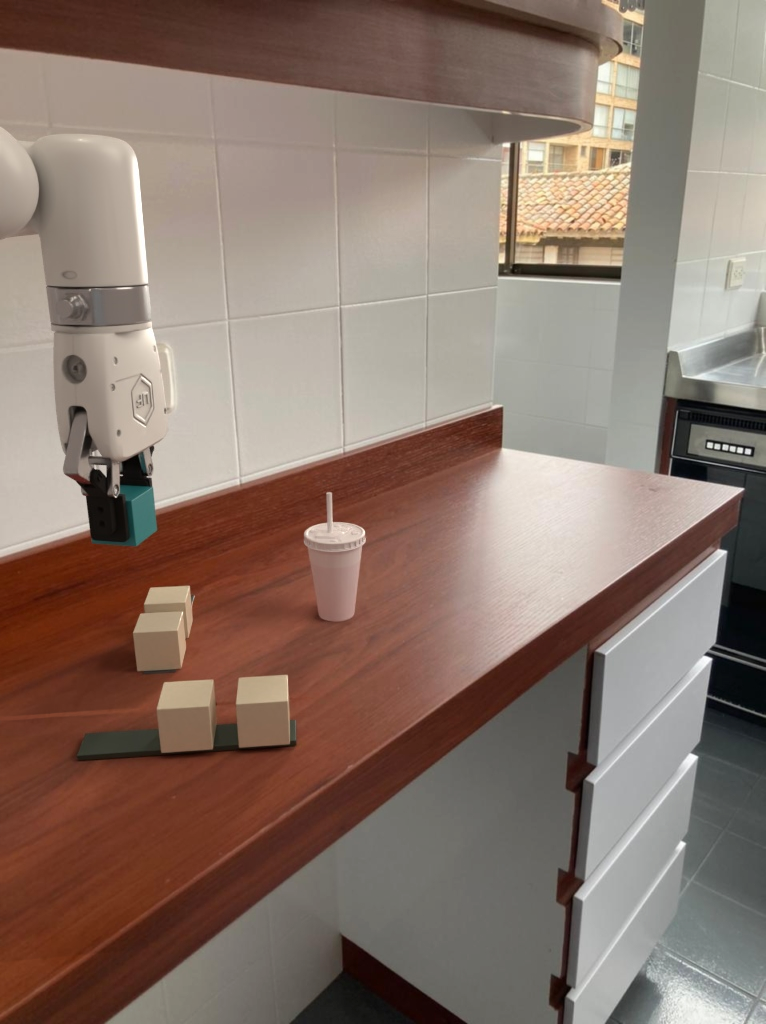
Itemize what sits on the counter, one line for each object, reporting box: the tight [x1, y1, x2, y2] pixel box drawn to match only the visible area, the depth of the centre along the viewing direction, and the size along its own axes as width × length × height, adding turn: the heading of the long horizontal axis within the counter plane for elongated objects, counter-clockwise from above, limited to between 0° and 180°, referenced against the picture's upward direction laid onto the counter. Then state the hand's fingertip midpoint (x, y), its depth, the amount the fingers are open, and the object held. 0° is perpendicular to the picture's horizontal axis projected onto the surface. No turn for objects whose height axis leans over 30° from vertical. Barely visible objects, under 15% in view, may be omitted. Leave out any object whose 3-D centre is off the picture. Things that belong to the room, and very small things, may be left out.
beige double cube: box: [132, 585, 195, 675], centre depth 82 cm, size 4×17×4 cm, turn 6°
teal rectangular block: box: [90, 485, 158, 547], centre depth 69 cm, size 4×4×4 cm
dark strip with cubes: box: [76, 674, 297, 762], centre depth 65 cm, size 17×4×4 cm, turn 96°
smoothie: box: [303, 491, 367, 622], centre depth 85 cm, size 6×6×14 cm
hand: (124, 528), depth 69 cm, fingers closed on teal rectangular block, 4 cm apart
